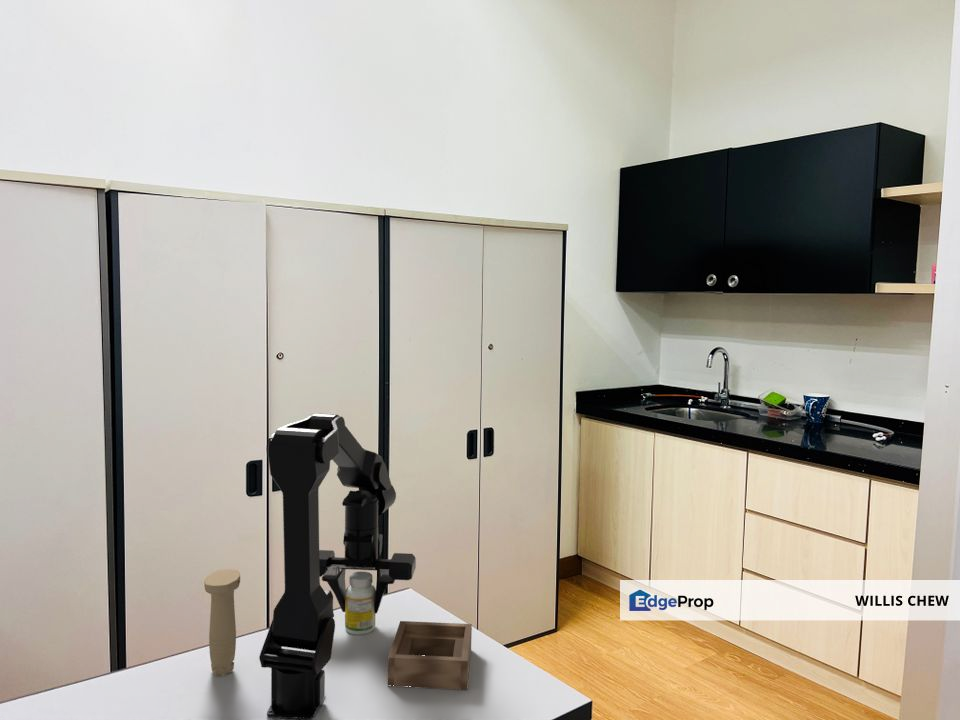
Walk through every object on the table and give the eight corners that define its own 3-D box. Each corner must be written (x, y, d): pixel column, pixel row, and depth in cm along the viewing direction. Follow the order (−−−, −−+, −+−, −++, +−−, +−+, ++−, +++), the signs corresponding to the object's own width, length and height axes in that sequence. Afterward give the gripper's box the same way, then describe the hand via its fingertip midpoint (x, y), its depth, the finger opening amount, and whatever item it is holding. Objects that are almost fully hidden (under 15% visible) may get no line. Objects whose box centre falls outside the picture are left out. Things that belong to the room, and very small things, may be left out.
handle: (244, 660, 109) (244, 569, 108) (232, 682, 102) (232, 585, 101) (213, 660, 109) (213, 569, 107) (199, 682, 102) (199, 585, 101)
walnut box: (387, 686, 103) (387, 657, 102) (399, 646, 115) (400, 620, 114) (466, 689, 102) (467, 661, 102) (471, 650, 114) (471, 624, 114)
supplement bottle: (365, 638, 117) (366, 583, 117) (338, 632, 119) (339, 578, 119) (380, 624, 122) (381, 572, 122) (354, 619, 124) (355, 568, 124)
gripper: (420, 513, 127) (418, 595, 128) (321, 509, 128) (320, 590, 129) (412, 533, 116) (410, 622, 117) (303, 529, 117) (303, 617, 118)
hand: (360, 611), depth 121 cm, fingers closed on supplement bottle, 5 cm apart
